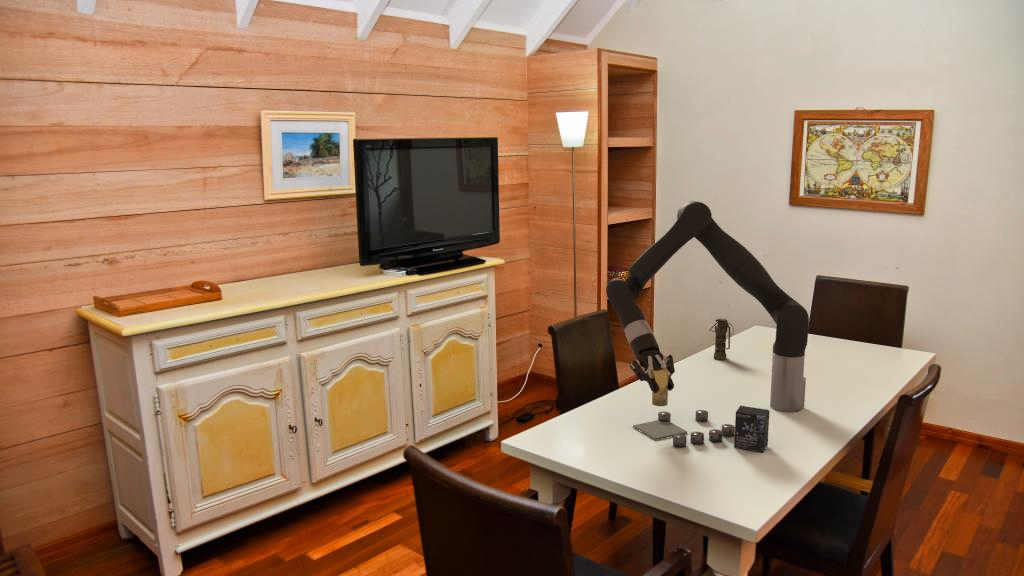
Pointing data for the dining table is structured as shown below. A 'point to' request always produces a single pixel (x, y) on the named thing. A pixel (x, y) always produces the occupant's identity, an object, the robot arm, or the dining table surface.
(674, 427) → the pad
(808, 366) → the dining table surface
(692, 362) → the dining table surface
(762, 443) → the box
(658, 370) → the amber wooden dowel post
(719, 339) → the grenade
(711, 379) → the dining table surface
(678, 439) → the spacers
